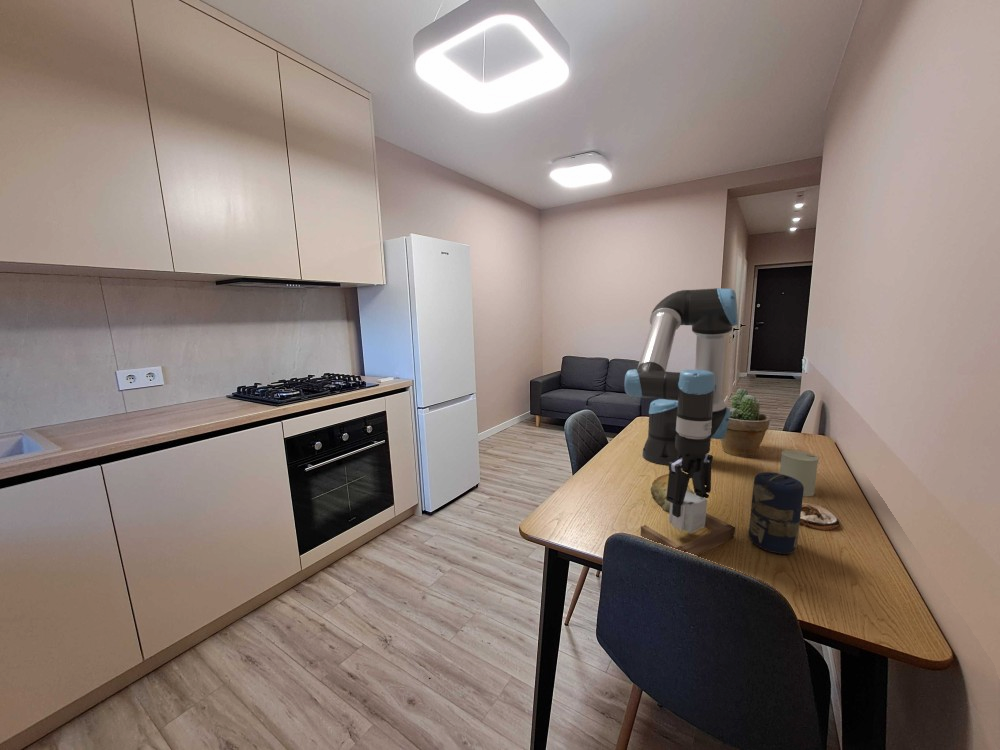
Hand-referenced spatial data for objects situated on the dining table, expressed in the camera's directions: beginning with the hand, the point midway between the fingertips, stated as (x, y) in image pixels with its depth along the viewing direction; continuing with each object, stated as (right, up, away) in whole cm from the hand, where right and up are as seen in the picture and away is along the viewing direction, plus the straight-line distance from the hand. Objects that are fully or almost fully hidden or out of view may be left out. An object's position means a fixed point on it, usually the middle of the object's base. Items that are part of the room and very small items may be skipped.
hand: (687, 523), depth 94 cm
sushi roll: (+37, -3, +9) cm, 39 cm away
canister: (+19, -4, -3) cm, 20 cm away
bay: (0, -4, +1) cm, 4 cm away
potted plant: (+50, +6, +58) cm, 77 cm away
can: (+47, +1, +25) cm, 53 cm away
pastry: (+5, -1, +19) cm, 19 cm away
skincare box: (0, 0, 0) cm, 1 cm away
